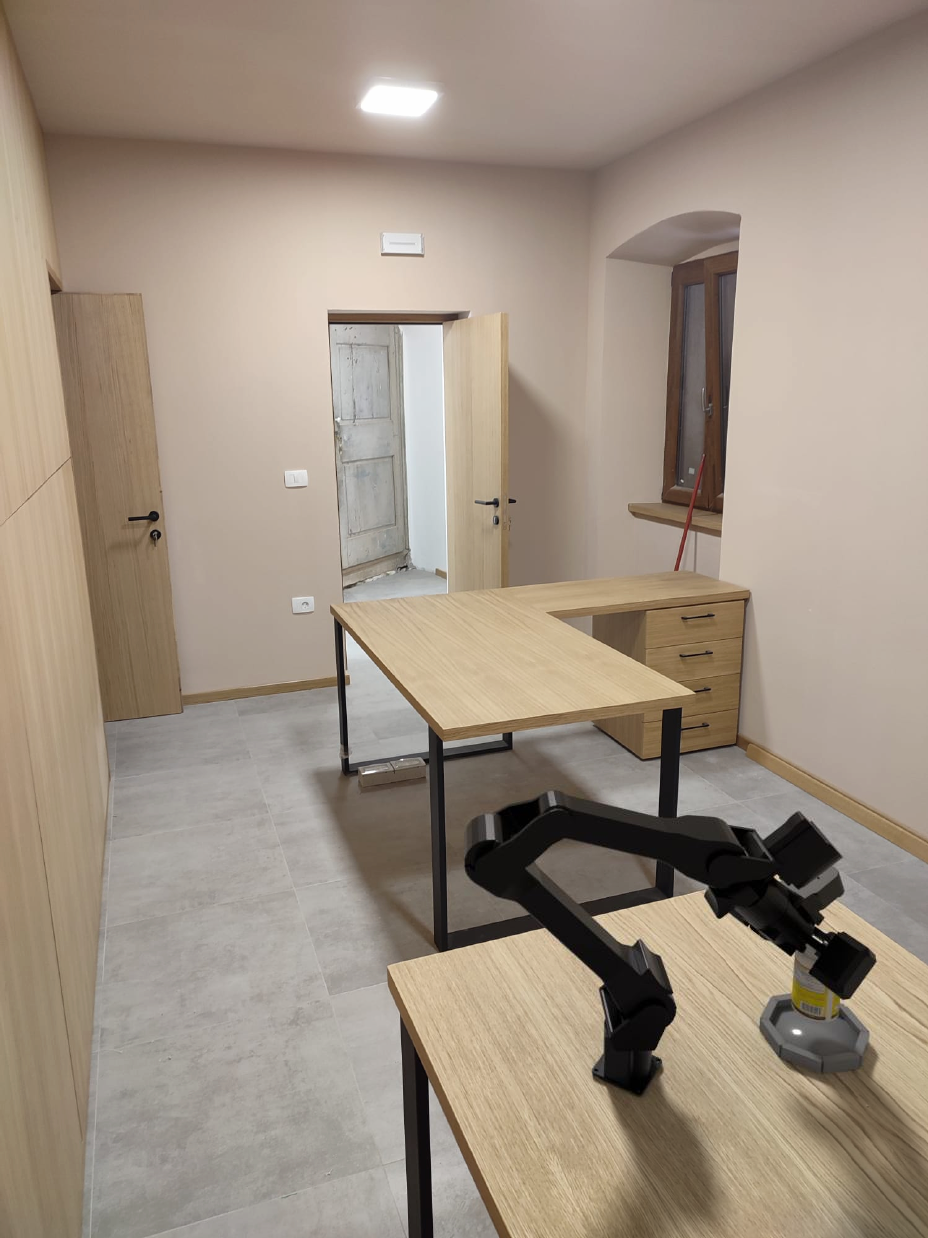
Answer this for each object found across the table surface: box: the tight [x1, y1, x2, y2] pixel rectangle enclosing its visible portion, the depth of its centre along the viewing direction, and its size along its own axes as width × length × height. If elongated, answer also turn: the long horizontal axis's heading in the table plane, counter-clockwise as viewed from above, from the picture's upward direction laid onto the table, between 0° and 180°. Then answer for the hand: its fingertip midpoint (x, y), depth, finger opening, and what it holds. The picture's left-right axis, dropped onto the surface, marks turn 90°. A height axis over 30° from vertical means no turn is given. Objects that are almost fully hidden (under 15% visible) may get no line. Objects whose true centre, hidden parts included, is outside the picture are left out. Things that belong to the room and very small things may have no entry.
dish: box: [758, 992, 871, 1075], centre depth 108 cm, size 12×12×2 cm
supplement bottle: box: [791, 928, 841, 1023], centre depth 106 cm, size 6×6×10 cm
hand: (826, 960), depth 106 cm, fingers closed on supplement bottle, 5 cm apart
